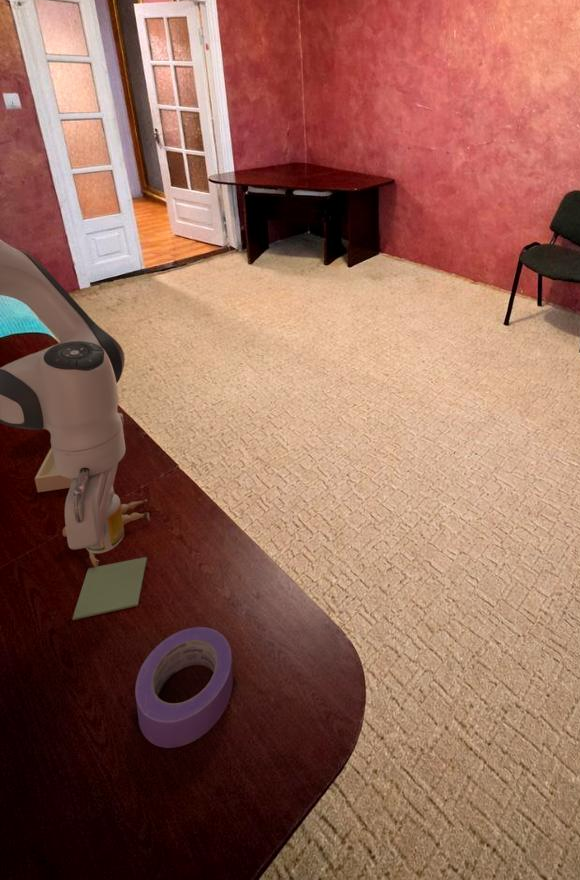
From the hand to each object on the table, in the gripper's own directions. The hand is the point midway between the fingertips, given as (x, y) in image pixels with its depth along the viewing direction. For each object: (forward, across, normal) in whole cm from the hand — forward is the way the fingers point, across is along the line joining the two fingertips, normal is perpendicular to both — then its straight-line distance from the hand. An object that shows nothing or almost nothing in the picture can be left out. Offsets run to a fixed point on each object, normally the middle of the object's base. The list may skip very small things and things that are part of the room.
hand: (102, 522), depth 75 cm
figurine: (+14, +13, +2) cm, 19 cm away
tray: (+14, +34, +10) cm, 38 cm away
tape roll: (+14, -21, -12) cm, 28 cm away
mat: (+14, 0, 0) cm, 14 cm away
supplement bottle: (+4, 0, 0) cm, 4 cm away
